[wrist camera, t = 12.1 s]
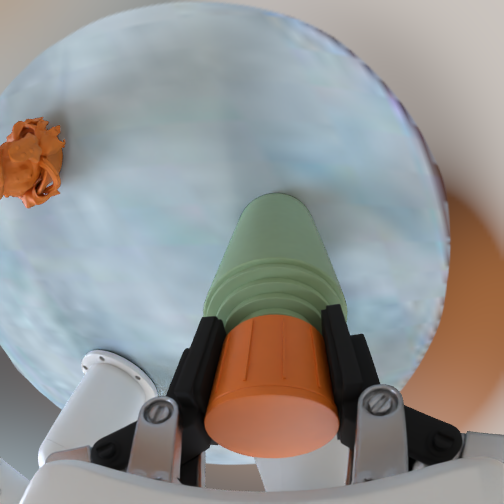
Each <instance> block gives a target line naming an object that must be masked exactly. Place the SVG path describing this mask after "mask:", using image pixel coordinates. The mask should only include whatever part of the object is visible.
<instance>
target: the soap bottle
mask: <svg viewBox="0 0 504 504" xmlns="http://www.w3.org/2000/svg"><path fill="white" fill-rule="evenodd" d="M254 459H255V462H256V464H257V467H258V470H259V473H260V475H261V478H262V481H263V484H264V487H265V490H266V492H280V491H301V490H314V489H324V488H332V487H339V486H345V479H346V470H347V460H348V447H347V446H345V445H343V444H341V441H340V440H337V434H336V435H335V436H334V438H333V439H332V440H331V441H330V442H328V443H327V444H325V445H324V446H322V447H321V448H319V449H317V450H314V451H312V452H309V453H306V454H303V455H299V456H294V457H287V458H258V457H254Z"/></svg>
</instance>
